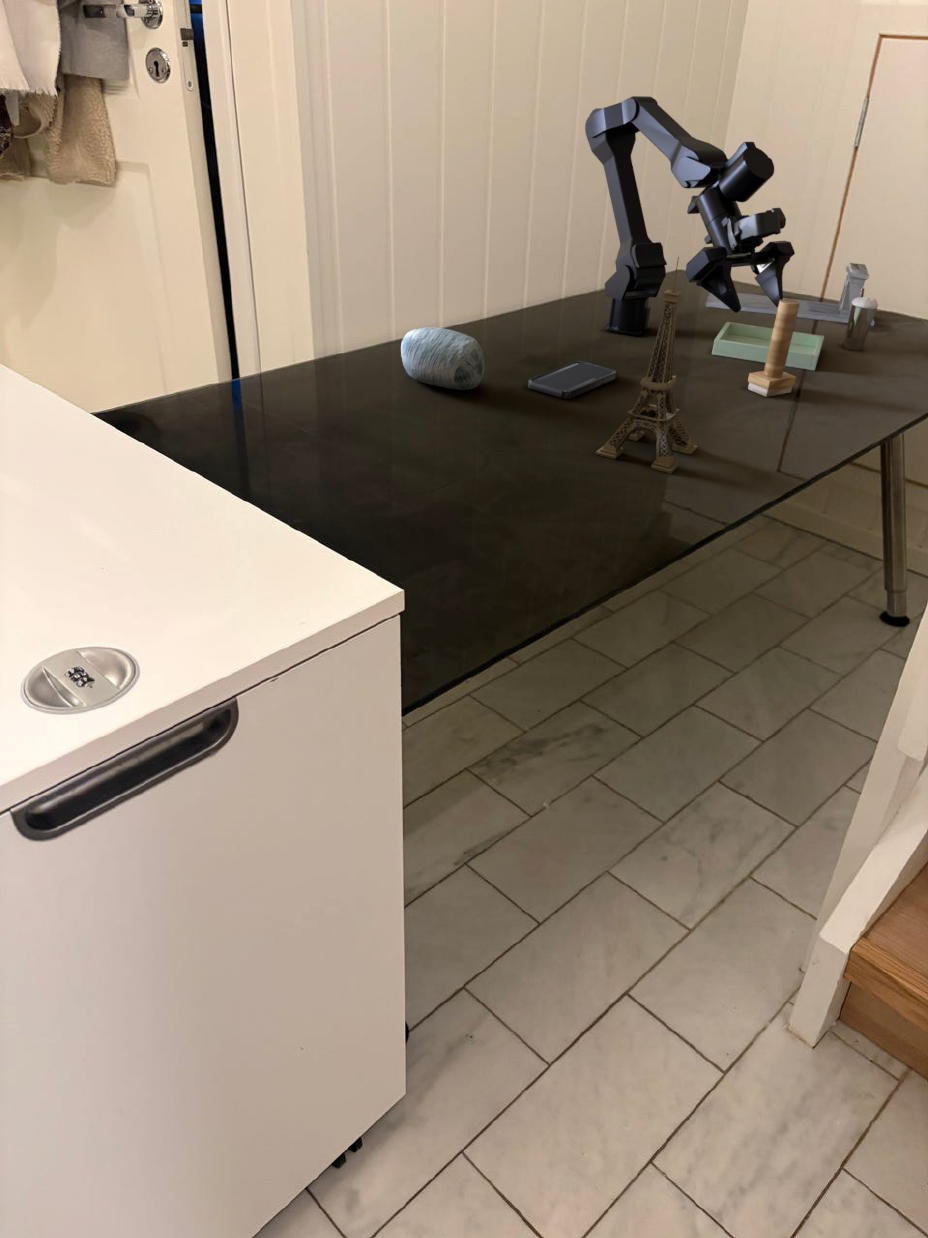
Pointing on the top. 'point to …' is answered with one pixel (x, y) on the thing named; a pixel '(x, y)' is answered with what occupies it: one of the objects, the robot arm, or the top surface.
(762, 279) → the robot arm
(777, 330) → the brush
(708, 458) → the top surface
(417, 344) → the blue yarn skein
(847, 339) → the milkshake
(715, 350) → the tray
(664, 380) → the eiffel tower
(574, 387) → the phone
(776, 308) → the monument
